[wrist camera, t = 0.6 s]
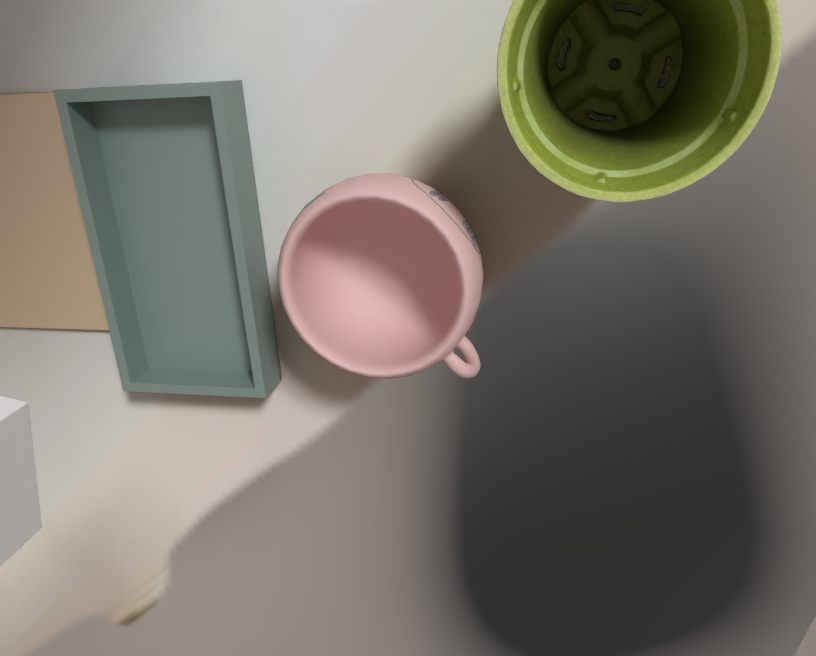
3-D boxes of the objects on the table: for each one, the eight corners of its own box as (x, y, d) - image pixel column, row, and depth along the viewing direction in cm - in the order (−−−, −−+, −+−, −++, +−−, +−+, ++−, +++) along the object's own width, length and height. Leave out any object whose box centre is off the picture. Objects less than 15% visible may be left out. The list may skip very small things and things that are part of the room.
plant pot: (493, 150, 33) (476, 180, 25) (531, -65, 29) (524, -108, 22) (685, 181, 32) (729, 222, 24) (749, -39, 28) (827, -75, 20)
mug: (276, 246, 38) (230, 278, 32) (398, 121, 34) (369, 133, 28) (420, 394, 39) (400, 448, 34) (552, 291, 35) (553, 333, 30)
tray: (84, 88, 36) (53, 90, 34) (241, 80, 34) (219, 82, 32) (146, 373, 42) (123, 391, 40) (281, 379, 41) (265, 398, 38)
